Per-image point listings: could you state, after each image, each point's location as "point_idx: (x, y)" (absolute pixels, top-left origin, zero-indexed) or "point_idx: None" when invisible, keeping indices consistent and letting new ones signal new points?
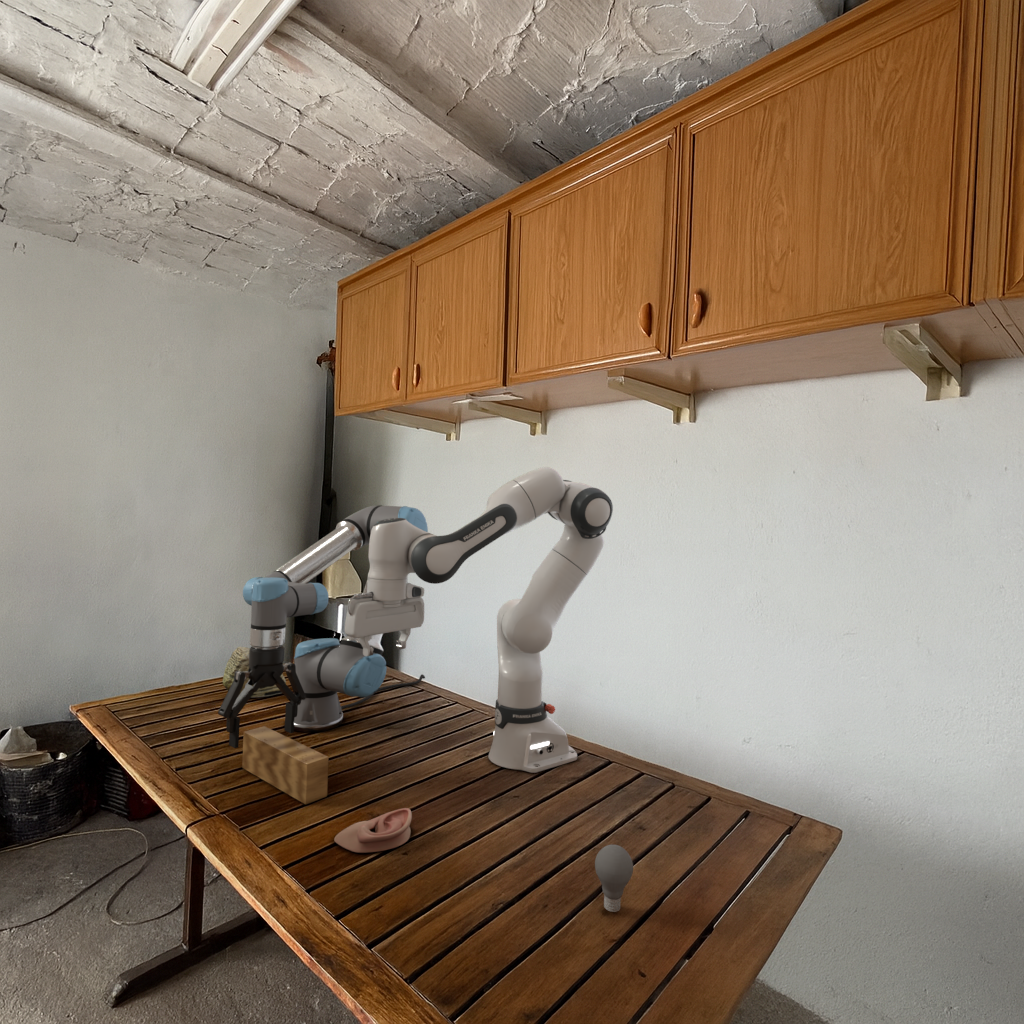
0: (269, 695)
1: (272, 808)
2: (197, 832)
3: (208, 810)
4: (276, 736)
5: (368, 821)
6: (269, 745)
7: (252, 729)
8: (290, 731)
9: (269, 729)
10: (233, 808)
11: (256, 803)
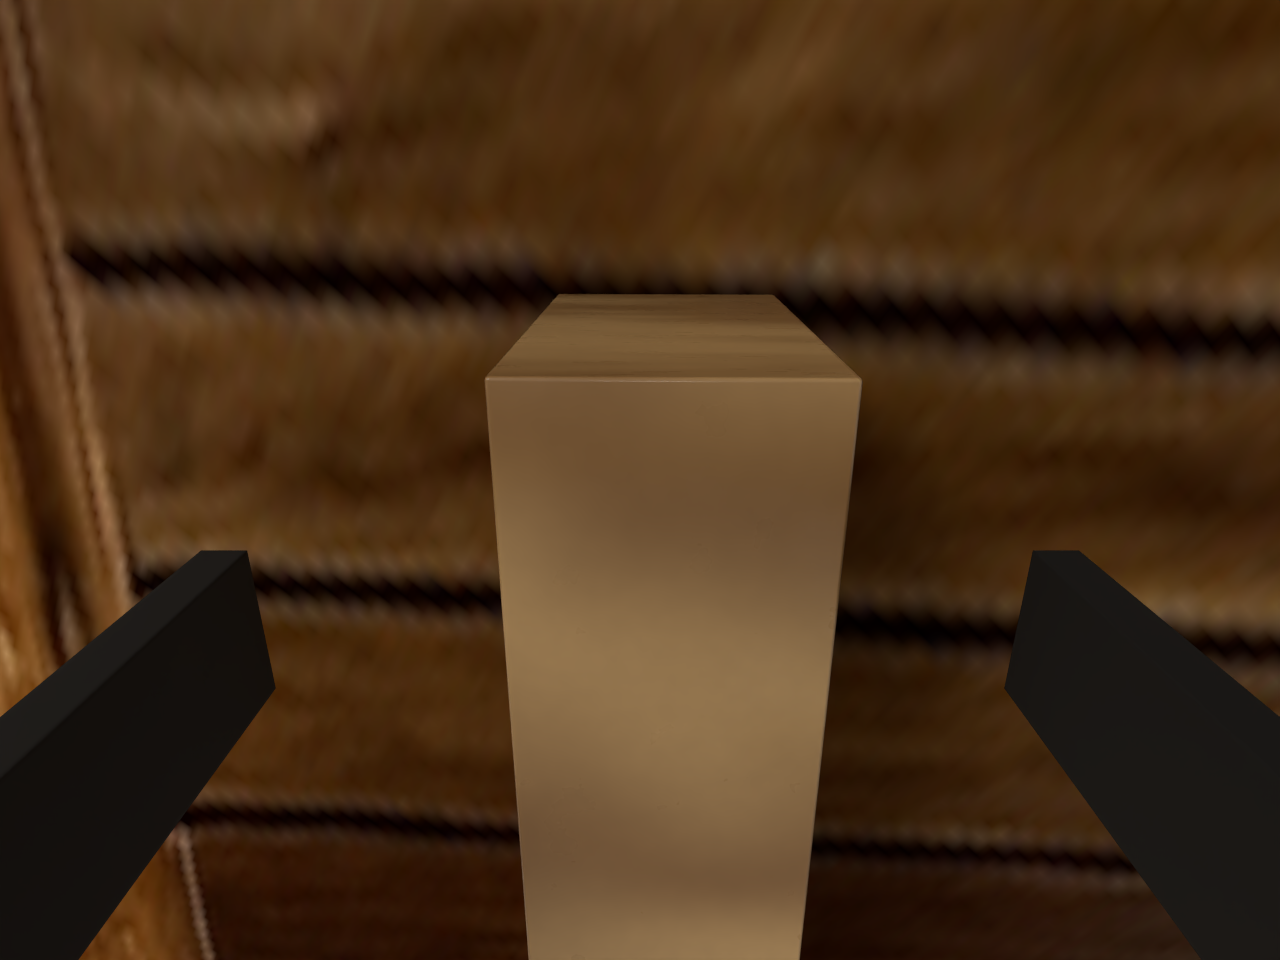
0: None
1: (428, 937)
2: None
3: None
4: (726, 817)
5: None
6: (528, 941)
7: (638, 385)
8: (1016, 692)
9: (818, 564)
10: (248, 812)
11: (382, 845)
